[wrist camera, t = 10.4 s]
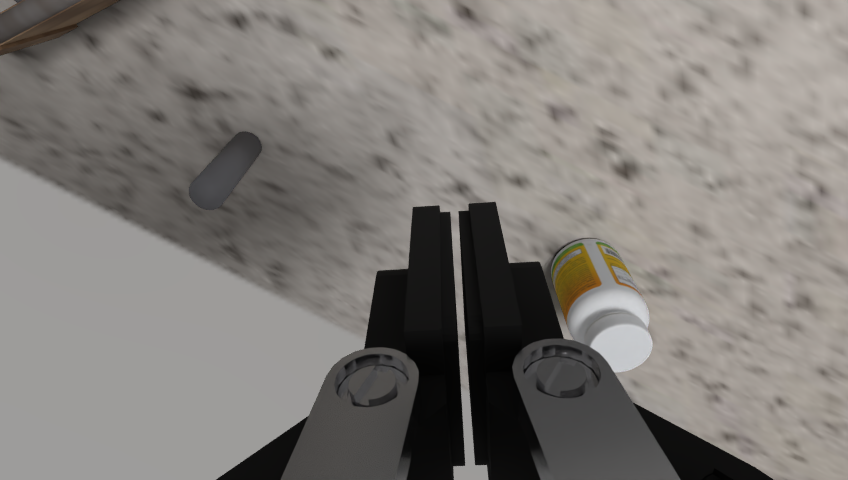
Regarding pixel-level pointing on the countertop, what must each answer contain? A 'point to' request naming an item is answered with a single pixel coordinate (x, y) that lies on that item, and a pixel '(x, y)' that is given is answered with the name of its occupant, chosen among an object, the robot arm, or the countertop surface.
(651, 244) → the countertop surface
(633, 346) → the supplement bottle
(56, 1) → the gate
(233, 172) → the post
